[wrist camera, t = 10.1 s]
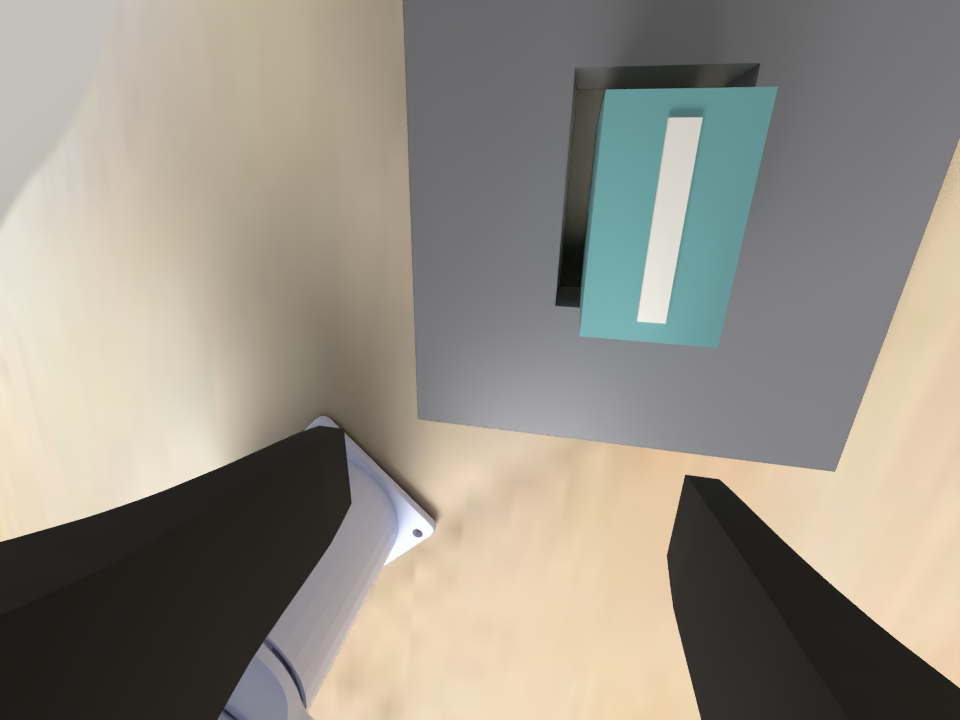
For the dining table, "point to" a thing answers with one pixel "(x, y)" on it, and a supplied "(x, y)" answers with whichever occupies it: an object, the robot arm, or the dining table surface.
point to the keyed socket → (767, 238)
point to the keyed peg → (669, 210)
